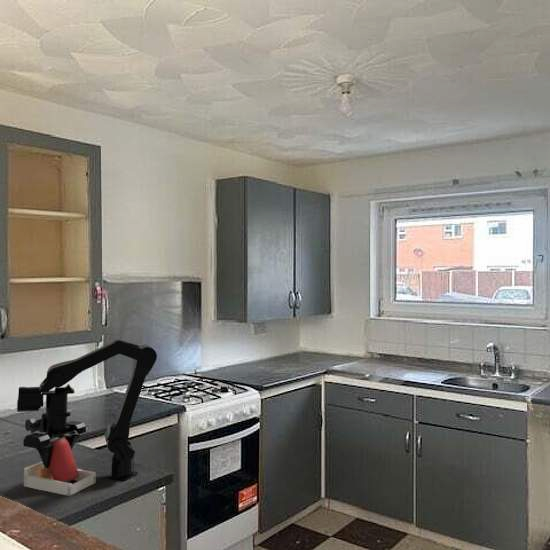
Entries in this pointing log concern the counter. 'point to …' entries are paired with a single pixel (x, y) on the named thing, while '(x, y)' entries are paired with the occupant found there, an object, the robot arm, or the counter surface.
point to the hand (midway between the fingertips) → (55, 464)
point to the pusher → (45, 473)
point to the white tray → (57, 486)
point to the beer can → (62, 461)
